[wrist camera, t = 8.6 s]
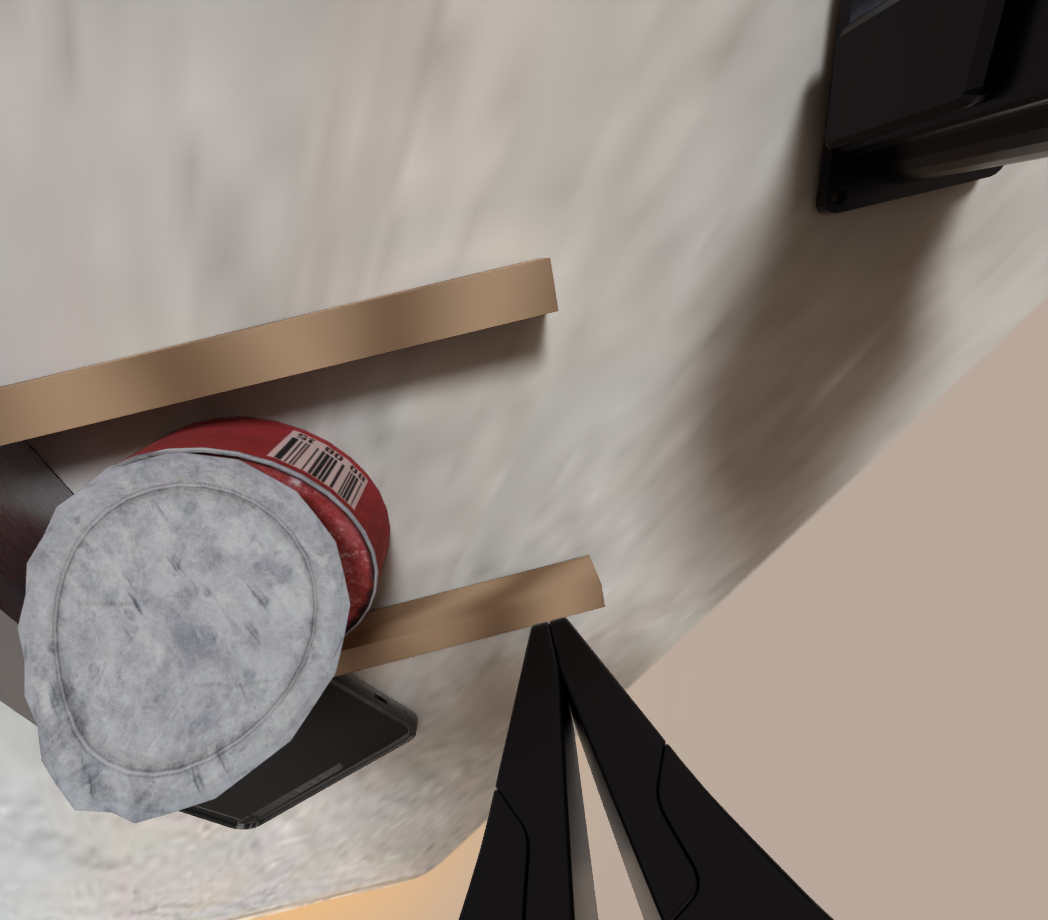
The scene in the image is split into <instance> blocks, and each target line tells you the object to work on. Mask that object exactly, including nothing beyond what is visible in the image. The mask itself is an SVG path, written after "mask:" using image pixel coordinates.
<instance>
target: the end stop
mask: <svg viewBox="0 0 1048 920" xmlns="http://www.w3.org/2000/svg"><path fill="white" fill-rule="evenodd" d="M72 495H73V494H72V493H71V491H70V490H69V489H68V488H67V487H66V486H65V485H64V484H63V483H62V482H61V481H60V479H59V478H58V477H57V476H56V475H55V474H54V473H53V472H52V471H51V470H50V468H49V467H48V466H47V465H46V464H45V463H44V462H43V461H42V460H41V459H40V457H39V456H38V455H37V454H36V453H35V452H34V451H33V450H32V449H31V448H30V446H29V445H28V444H27V443H26V442H25V441H24V440H22V441H18V442H14V443H10V444H6V445H2V446H0V701H1V702H3V703H4V704H6V705H7V706H9V707H10V708H12V709H13V710H14V711H16V712H17V713H19V714H20V715H22V716H23V717H25V718H26V719H28V720H29V721H31V722H32V723H33V724H35V725H36V726H37V724H36V721H35V719H34V717H33V714H32V712H31V710H30V707H29V705H28V703H27V700H26V698H25V660H24V656H23V651H22V646H21V642H20V637H19V632H18V625H19V621H20V616H21V612H22V608H23V604H24V599H25V595H26V572H27V562H28V560H29V559H30V557H31V556H32V554H33V552H34V551H35V549H36V547H37V546H38V544H39V542H40V541H41V539H42V538H43V536H44V534H45V532H46V530H47V527H48V525H49V523H50V521H51V518H52V516H53V514H54V512H55V509H56V507H57V506H59V505H60V504H61V503H63V502H64V501H66V500H67V499H68V498H70V497H71V496H72Z"/></svg>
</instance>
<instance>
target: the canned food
mask: <svg viewBox="0 0 1048 920" xmlns="http://www.w3.org/2000/svg"><path fill="white" fill-rule="evenodd" d="M389 533H390V525H389V519H388V513H387V509H386V506H385V504H384V501H383V499H382V497H381V494H380V492H379V490H378V489H377V487H376V486H375V484H374V483H373V482H372V480H371V479H370V477H369V476H368V474H367V473H366V472H365V471H364V470H363V469H362V468H361V467H360V466H359V465H358V464H357V463H356V462H355V461H354V460H353V459H352V458H351V457H350V456H348V455H347V454H345V453H344V452H343V451H341V450H340V449H338V448H337V447H335V446H334V445H333V444H331V443H330V442H328V441H326V440H324V439H322V438H320V437H318V436H316V435H314V434H312V433H310V432H308V431H306V430H303V429H300V428H297V427H294V426H290V425H287V424H284V423H281V422H277V421H271V420H264V419H257V418H250V417H229V418H215V419H211V420H206V421H201V422H196V423H192V424H190V425H187V426H185V427H183V428H181V429H178V430H176V431H174V432H171V433H169V434H168V435H166V436H164V437H163V438H161V439H159V440H157V441H156V442H154V443H152V444H150V445H149V446H147V447H145V448H143V449H142V450H140V451H138V452H137V453H135V454H133V455H131V456H130V457H128V458H126V459H124V460H123V461H121V462H119V463H117V464H114V465H112V466H110V467H108V468H106V469H105V470H104V471H102V472H101V473H100V474H98V475H97V476H96V477H95V478H93V479H92V480H91V481H89V482H88V483H87V484H86V485H85V486H84V487H83V488H82V489H81V490H79V491H78V492H77V493H75V494H74V495H72V496H71V497H70V498H68V499H67V500H66V501H64V502H63V503H61V504H60V505H59V506H57V507H56V509H55V512H54V514H53V516H52V518H51V521H50V523H49V525H48V527H47V530H46V532H45V534H44V536H43V538H42V539H41V541H40V542H39V544H38V546H37V547H36V549H35V551H34V552H33V554H32V556H31V557H30V559H29V560H28V562H27V572H26V595H25V599H24V604H23V608H22V612H21V616H20V621H19V625H18V632H19V637H20V642H21V646H22V651H23V656H24V660H25V698H26V700H27V703H28V705H29V707H30V710H31V712H32V714H33V717H34V719H35V721H36V724H37V727H38V735H39V743H40V751H41V759H42V762H43V764H44V765H45V767H46V769H47V770H48V772H49V774H50V775H51V777H52V779H53V780H54V782H55V784H56V785H57V787H58V788H59V789H60V791H61V792H62V793H63V795H64V796H65V798H66V799H67V800H68V802H69V803H70V804H71V806H72V807H73V808H74V810H79V811H97V812H112V813H114V814H116V815H118V816H120V817H122V818H124V819H126V820H129V821H131V822H133V823H137V822H141V821H145V820H148V819H152V818H155V817H159V816H162V815H166V814H170V813H173V812H176V811H179V810H182V809H185V808H188V807H191V806H194V805H197V804H200V803H203V802H207V801H210V800H213V799H216V798H217V797H218V796H219V795H221V794H222V793H223V792H225V791H226V790H227V789H229V788H230V787H231V786H232V785H234V784H235V783H236V782H238V781H239V780H240V779H242V778H243V777H244V776H245V775H247V774H248V773H249V772H251V771H252V770H253V769H255V768H256V767H257V766H259V765H260V764H261V763H262V762H264V761H265V760H266V759H268V758H269V757H270V756H272V755H273V754H274V753H275V752H277V751H278V750H279V749H281V748H282V747H283V746H285V745H286V744H287V743H288V742H290V741H291V740H292V738H293V737H294V735H295V734H296V732H297V731H298V729H299V728H300V726H301V725H302V723H303V722H304V720H305V719H306V717H307V716H308V714H309V713H310V711H311V710H312V708H313V707H314V705H315V704H316V702H317V701H318V699H319V698H320V696H321V695H322V693H323V692H324V690H325V689H326V687H327V686H328V684H329V683H330V681H331V680H332V678H333V676H334V675H335V673H336V671H337V667H338V662H339V658H340V654H341V649H342V645H343V641H344V637H345V636H346V635H347V634H348V633H349V632H350V631H352V630H353V629H354V628H355V627H356V626H357V625H358V624H359V623H360V622H361V621H362V619H363V618H364V616H365V615H366V613H367V612H368V610H369V609H370V608H371V605H372V602H373V600H374V597H375V594H376V591H377V584H378V581H379V577H380V573H381V570H382V566H383V563H384V559H385V555H386V552H387V548H388V545H389Z"/></svg>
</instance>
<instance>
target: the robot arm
mask: <svg viewBox="0 0 1048 920" xmlns="http://www.w3.org/2000/svg"><path fill="white" fill-rule="evenodd" d="M1046 157H1048V0H841V5H840V13H839V21H838V29H837V37H836V46H835V54H834V62H833V70H832V78H831V86H830V94H829V102H828V110H827V118H826V126H825V134H824V142H823V150H822V158H821V166H820V174H819V182H818V190H817V198H816V208H817V210H818V212H819V213H821V214H835V213H840V212H844V211H849V210H853V209H857V208H861V207H865V206H869V205H874V204H878V203H882V202H886V201H890V200H894V199H899V198H903V197H907V196H911V195H915V194H919V193H924V192H928V191H932V190H936V189H940V188H944V187H949V186H953V185H957V184H961V183H965V182H969V181H974V180H978V179H982V178H986V177H990V176H992V175H994V174H996V173H997V172H998V171H999V170H1001V168H1002V167H1003V166H1004V165H1007V164H1013V163H1018V162H1024V161H1029V160H1035V159H1040V158H1046ZM835 191H837V198H836V201H835V202H834V203H833V195H834V192H835ZM570 709H571V711H570ZM571 713H572V716H571ZM572 717H573V721H574V724H575V727H576V730H577V733H578V735H579V738H580V741H581V744H582V747H583V749H584V752H585V755H586V758H587V761H588V764H589V766H590V769H591V772H592V775H593V778H594V780H595V783H596V786H597V789H598V791H599V794H600V797H601V800H602V803H603V806H604V808H605V811H606V814H607V817H608V820H609V822H610V825H611V828H612V831H613V834H614V837H615V839H616V842H617V845H618V848H619V850H620V853H621V856H622V859H623V862H624V865H625V867H626V870H627V873H628V876H629V879H630V881H631V884H632V887H633V890H634V892H635V895H636V898H637V901H638V904H639V907H640V909H641V912H642V915H643V918H644V920H834V919H833V918H831V917H830V916H829V915H828V914H827V913H826V912H825V911H824V910H823V909H822V908H821V907H820V906H819V905H818V904H816V903H815V901H814V900H812V899H811V898H810V897H809V896H808V895H807V894H806V893H805V892H804V891H803V890H802V889H801V888H800V887H799V886H798V885H797V884H796V883H795V881H794V880H793V879H792V878H791V877H790V876H789V875H788V874H787V873H786V872H785V871H784V870H783V869H781V867H780V866H779V865H778V864H777V863H776V862H775V861H774V860H773V859H772V858H771V857H770V856H769V855H768V854H767V853H766V852H765V851H764V850H763V849H762V848H761V847H760V846H759V845H758V844H757V843H756V842H755V841H754V840H753V839H752V838H751V837H750V836H749V835H748V833H747V832H746V831H745V830H744V829H743V828H742V827H741V826H740V825H739V824H738V823H737V822H736V821H735V820H734V819H733V818H732V817H731V816H730V815H729V814H728V813H727V812H726V811H725V810H724V809H723V807H722V806H721V805H720V804H719V803H718V802H717V801H716V800H715V799H714V798H713V797H712V796H711V794H709V792H708V791H707V790H706V789H705V788H704V787H703V786H702V784H701V783H700V782H699V781H698V780H697V779H696V778H695V776H694V775H693V774H692V773H691V771H690V770H689V769H688V768H687V767H686V766H685V765H684V763H683V762H682V761H681V760H680V759H679V757H678V756H677V755H676V753H675V752H674V751H673V750H672V749H671V747H670V746H669V745H668V744H666V743H665V740H664V739H663V737H662V736H661V735H660V734H659V732H658V731H657V730H656V729H655V728H654V726H653V725H652V724H651V722H650V721H649V720H648V719H647V717H646V716H645V715H644V714H643V712H642V711H641V710H640V709H639V708H638V706H637V705H636V704H635V702H634V701H633V700H632V699H631V698H630V696H629V695H628V694H627V693H626V691H625V690H624V689H623V688H622V686H621V685H620V684H619V683H618V681H617V680H616V679H615V678H614V676H613V675H612V674H611V673H610V671H609V670H608V669H607V668H606V666H605V665H604V664H603V663H602V661H601V660H600V659H599V658H598V656H597V655H596V654H595V653H594V651H593V650H592V649H591V648H590V646H589V645H588V644H587V643H586V641H585V640H584V639H583V638H582V636H581V635H580V634H579V633H578V631H577V630H576V629H575V628H574V626H573V625H572V624H571V623H570V621H569V620H568V619H567V618H565V617H562V618H558V619H554V620H551V621H550V625H549V623H548V622H542V623H538V624H534V625H533V626H532V627H531V631H530V635H529V639H528V644H527V648H526V653H525V657H524V662H523V666H522V671H521V675H520V680H519V684H518V688H517V693H516V697H515V702H514V706H513V711H512V715H511V720H510V724H509V729H508V733H507V738H506V742H505V746H504V751H503V755H502V760H501V764H500V769H499V773H498V778H497V782H496V789H497V790H495V791H494V795H493V799H492V804H491V808H490V812H489V817H488V821H487V825H486V829H485V833H484V837H483V841H482V845H481V849H480V852H479V855H478V859H477V863H476V865H475V869H474V873H473V876H472V879H471V882H470V886H469V889H468V892H467V895H466V898H465V901H464V905H463V908H462V911H461V914H460V917H459V920H598V913H597V905H596V898H595V891H594V882H593V874H592V866H591V859H590V851H589V843H588V835H587V827H586V820H585V812H584V804H583V797H582V788H581V781H580V773H579V765H578V757H577V750H576V742H575V734H574V727H573V721H572Z"/></svg>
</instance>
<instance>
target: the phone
mask: <svg viewBox="0 0 1048 920" xmlns="http://www.w3.org/2000/svg"><path fill="white" fill-rule="evenodd" d="M375 694H377V695H379V696H380V697H382V698H384V699H385V700H387V703H384V702H382V701H381V700H379V699H377V698H375ZM405 711H406V713H405ZM417 719H418V718H417V715H416V714H415V713H414V712H413V711H411V710H410V709H408V708H406V707H405V706H403V705H402V704H400V703H398V702H397V701H395V700H393V699H392V698H390V697H388V696H387V695H385V694H384V693H382V692H380V691H379V690H377V689H375V688H374V687H372V686H370V685H369V684H367V683H366V682H364V681H362V680H361V679H359V678H357V677H356V676H354V675H353V674H351V673H347V674H343V675H339V676H336V677H333V678H332V680H331V681H330V683H329V684H328V686H327V687H326V689H325V690H324V692H323V693H322V695H321V696H320V698H319V699H318V701H317V702H316V704H315V705H314V707H313V708H312V710H311V711H310V713H309V714H308V716H307V717H306V719H305V720H304V722H303V723H302V725H301V726H300V728H299V729H298V731H297V732H296V734H295V735H294V737H293V738H292V740H291V741H290V742H288V743H287V744H286V745H285V746H283V747H282V748H281V749H279V750H278V751H277V752H275V753H274V754H273V755H272V756H270V757H269V758H268V759H266V760H265V761H264V762H262V763H261V764H260V765H259V766H257V767H256V768H255V769H253V770H252V771H251V772H249V773H248V774H247V775H245V776H244V777H243V778H242V779H240V780H239V781H238V782H236V783H235V784H234V785H232V786H231V787H230V788H229V789H227V790H226V791H225V792H223V793H222V794H221V795H219V796H218V797H217V798H216V799H213V800H210V801H207V802H203V803H200V804H197V805H194V806H191V807H188V808H185V809H182V810H179V811H180V812H183V813H186V814H190V815H193V816H196V817H199V818H202V819H205V820H208V821H211V822H215V823H218V824H221V825H224V826H227V827H230V828H234V829H251V828H255V827H258V826H260V825H262V824H264V823H265V822H267V821H269V820H271V819H272V818H274V817H276V816H278V815H279V814H281V813H283V812H285V811H286V810H288V809H290V808H292V807H294V806H295V805H297V804H299V803H301V802H302V801H304V800H306V799H308V798H309V797H311V796H313V795H315V794H317V793H318V792H320V791H322V790H324V789H325V788H327V787H329V786H331V785H332V784H334V783H336V782H338V781H340V780H341V779H343V778H345V777H347V776H348V775H350V774H352V773H354V772H355V771H357V770H359V769H361V768H363V767H364V766H366V765H368V764H370V763H371V762H373V761H375V760H377V759H378V758H380V757H382V756H384V755H386V754H387V753H389V752H391V751H393V750H394V749H396V748H398V747H400V746H402V745H403V744H405V743H407V742H409V741H410V740H412V739H413V738H414V737H415V735H416V728H417Z"/></svg>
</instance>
